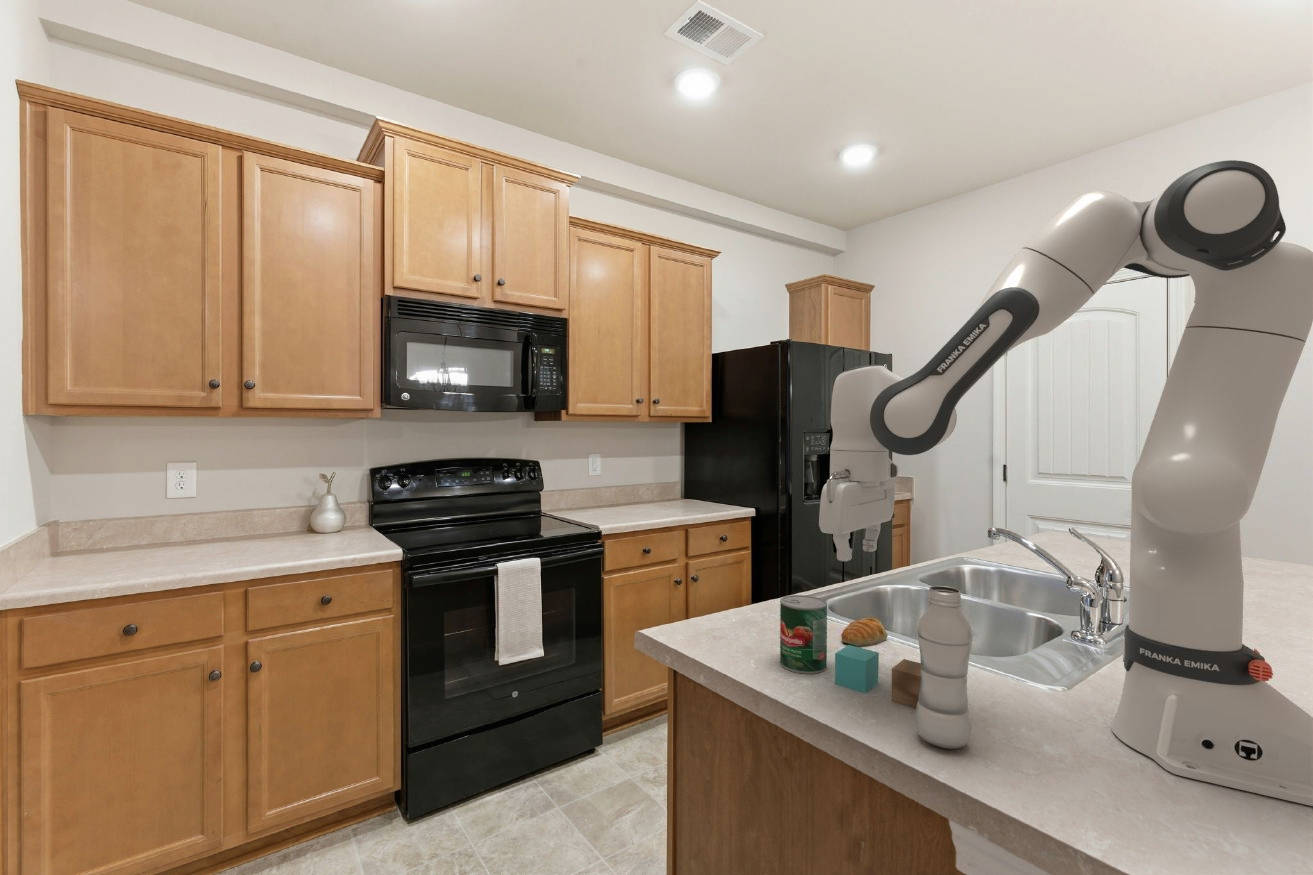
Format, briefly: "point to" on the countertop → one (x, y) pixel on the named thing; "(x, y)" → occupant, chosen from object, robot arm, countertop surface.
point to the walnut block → (906, 683)
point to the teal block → (856, 668)
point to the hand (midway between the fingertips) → (857, 555)
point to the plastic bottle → (944, 670)
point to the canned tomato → (803, 634)
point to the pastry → (864, 632)
